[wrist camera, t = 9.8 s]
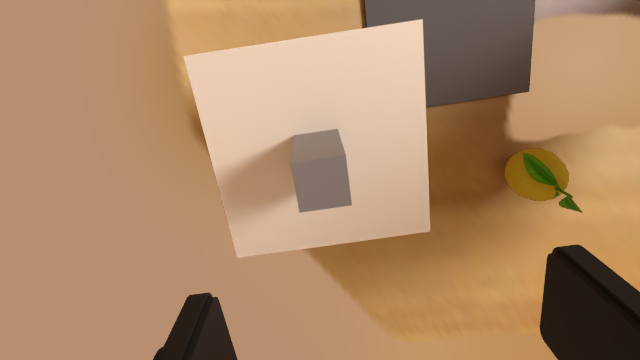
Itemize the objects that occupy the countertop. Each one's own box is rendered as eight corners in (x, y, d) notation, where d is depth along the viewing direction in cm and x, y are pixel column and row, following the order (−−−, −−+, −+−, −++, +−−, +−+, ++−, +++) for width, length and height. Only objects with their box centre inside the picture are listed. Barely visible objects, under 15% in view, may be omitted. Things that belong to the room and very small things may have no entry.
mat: (538, -93, 34) (541, -94, 34) (527, 91, 40) (528, 91, 40) (358, -63, 35) (358, -64, 34) (374, 114, 41) (375, 114, 40)
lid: (412, 20, 25) (459, 12, 17) (421, 216, 30) (460, 279, 23) (194, 54, 25) (142, 62, 17) (242, 241, 31) (219, 312, 23)
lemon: (539, 186, 45) (600, 226, 35) (491, 191, 45) (539, 232, 35) (545, 133, 42) (612, 161, 33) (495, 139, 42) (547, 168, 33)
